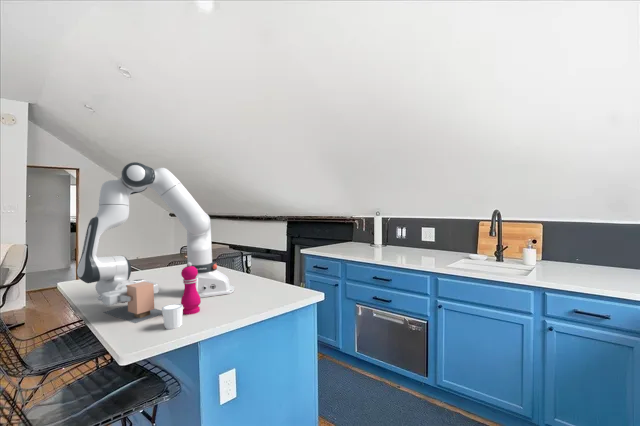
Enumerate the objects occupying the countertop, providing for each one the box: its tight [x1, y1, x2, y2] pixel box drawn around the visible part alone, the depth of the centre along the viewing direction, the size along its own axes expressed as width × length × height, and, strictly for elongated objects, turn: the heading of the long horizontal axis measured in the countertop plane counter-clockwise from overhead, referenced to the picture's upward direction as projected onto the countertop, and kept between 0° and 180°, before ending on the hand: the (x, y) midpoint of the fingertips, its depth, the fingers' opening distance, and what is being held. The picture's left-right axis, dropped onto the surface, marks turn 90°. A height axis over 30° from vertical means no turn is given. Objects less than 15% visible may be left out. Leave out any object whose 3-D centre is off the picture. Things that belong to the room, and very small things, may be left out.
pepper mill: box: [180, 261, 202, 316], centre depth 131 cm, size 7×7×20 cm
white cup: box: [161, 303, 184, 330], centre depth 118 cm, size 7×7×7 cm
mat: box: [103, 304, 163, 324], centre depth 133 cm, size 24×13×1 cm, turn 57°
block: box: [134, 311, 150, 318], centre depth 128 cm, size 4×4×4 cm
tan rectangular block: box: [127, 282, 155, 314], centre depth 128 cm, size 7×7×10 cm
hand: (142, 296), depth 128 cm, fingers closed on tan rectangular block, 7 cm apart
